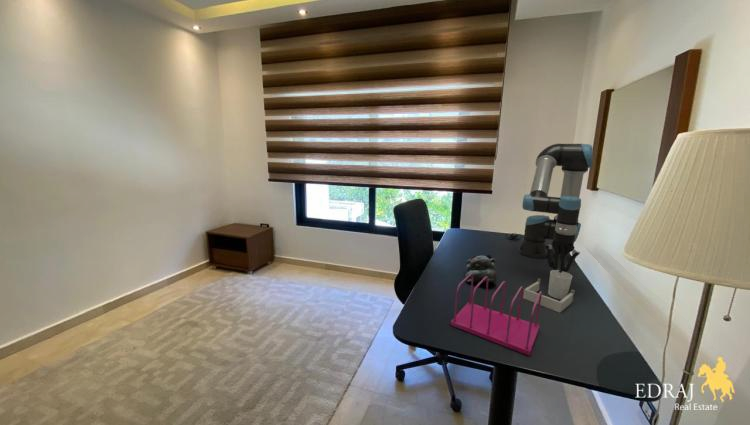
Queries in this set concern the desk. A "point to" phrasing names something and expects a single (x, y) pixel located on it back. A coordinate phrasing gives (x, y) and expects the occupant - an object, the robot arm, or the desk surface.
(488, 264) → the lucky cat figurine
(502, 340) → the file sorter
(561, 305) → the open u-shaped frame
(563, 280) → the white cup
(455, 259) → the desk surface
